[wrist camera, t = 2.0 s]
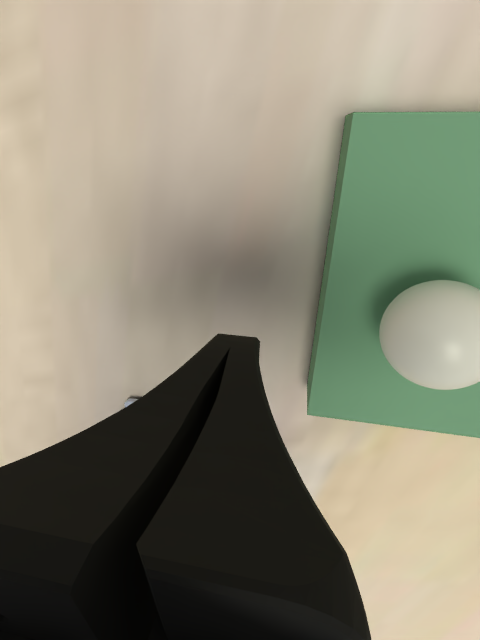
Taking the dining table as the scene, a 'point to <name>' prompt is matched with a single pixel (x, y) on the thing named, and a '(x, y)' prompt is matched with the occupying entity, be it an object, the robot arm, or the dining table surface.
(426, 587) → the dining table surface
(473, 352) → the ball
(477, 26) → the dining table surface
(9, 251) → the dining table surface
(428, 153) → the putting mat
